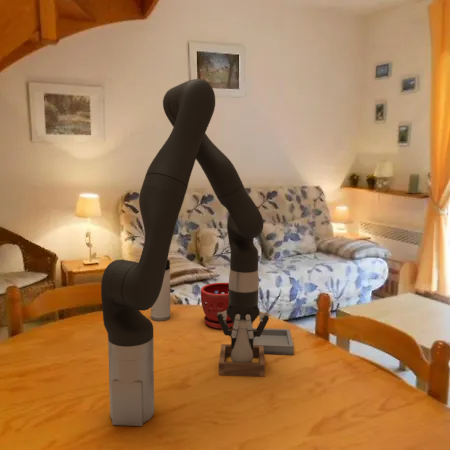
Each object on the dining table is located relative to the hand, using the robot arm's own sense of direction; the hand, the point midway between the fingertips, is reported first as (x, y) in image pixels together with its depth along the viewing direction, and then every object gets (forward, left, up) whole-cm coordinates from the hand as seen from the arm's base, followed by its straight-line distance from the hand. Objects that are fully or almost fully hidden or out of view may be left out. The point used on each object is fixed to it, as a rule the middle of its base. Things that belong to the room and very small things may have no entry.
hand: (242, 350), depth 123 cm
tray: (+13, -8, -4) cm, 16 cm away
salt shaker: (0, 0, -4) cm, 4 cm away
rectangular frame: (0, 0, -4) cm, 4 cm away
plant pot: (+28, +7, -4) cm, 29 cm away
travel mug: (+31, +27, -4) cm, 41 cm away
